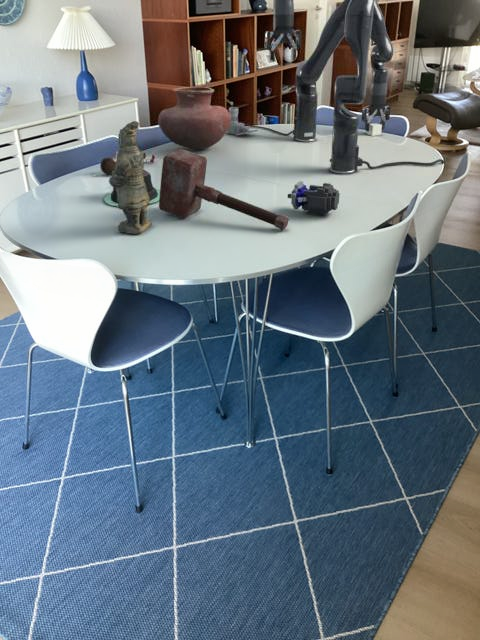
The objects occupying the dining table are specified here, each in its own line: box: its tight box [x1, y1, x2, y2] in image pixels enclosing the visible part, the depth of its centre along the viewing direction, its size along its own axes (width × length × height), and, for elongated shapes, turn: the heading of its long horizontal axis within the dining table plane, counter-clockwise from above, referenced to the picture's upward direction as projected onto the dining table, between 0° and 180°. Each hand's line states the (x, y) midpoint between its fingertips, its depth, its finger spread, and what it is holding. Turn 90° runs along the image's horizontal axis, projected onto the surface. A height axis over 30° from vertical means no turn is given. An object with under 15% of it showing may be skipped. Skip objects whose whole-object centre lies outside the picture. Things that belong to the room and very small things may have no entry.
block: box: [366, 122, 383, 137], centre depth 261 cm, size 5×5×5 cm
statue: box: [108, 120, 153, 235], centre depth 154 cm, size 11×9×30 cm
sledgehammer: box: [158, 148, 290, 231], centre depth 163 cm, size 17×10×40 cm
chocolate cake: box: [103, 168, 160, 207], centre depth 186 cm, size 15×19×20 cm
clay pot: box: [157, 86, 231, 151], centre depth 238 cm, size 30×30×25 cm
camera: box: [226, 106, 259, 136], centre depth 264 cm, size 9×12×15 cm
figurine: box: [100, 149, 156, 176], centre depth 217 cm, size 13×8×25 cm
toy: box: [287, 180, 341, 216], centre depth 168 cm, size 9×9×15 cm
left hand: (374, 130), depth 261 cm, fingers open, 7 cm apart
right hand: (282, 60), depth 214 cm, fingers open, 8 cm apart
